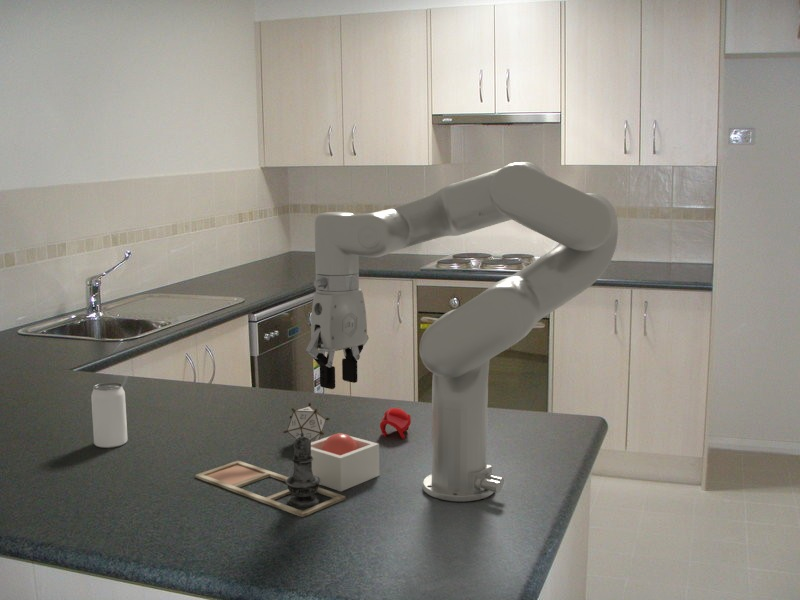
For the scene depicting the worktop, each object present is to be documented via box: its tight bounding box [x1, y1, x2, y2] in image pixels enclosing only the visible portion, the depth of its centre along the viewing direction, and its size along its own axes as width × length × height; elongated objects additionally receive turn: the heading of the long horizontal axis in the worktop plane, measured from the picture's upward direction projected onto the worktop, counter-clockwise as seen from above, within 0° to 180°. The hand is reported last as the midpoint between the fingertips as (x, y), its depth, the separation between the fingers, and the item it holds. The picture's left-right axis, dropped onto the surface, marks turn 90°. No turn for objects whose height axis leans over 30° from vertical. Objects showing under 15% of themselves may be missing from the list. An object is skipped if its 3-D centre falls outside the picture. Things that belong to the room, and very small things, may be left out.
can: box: [90, 382, 128, 449], centre depth 179 cm, size 6×6×12 cm
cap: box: [379, 407, 412, 440], centre depth 184 cm, size 8×6×6 cm
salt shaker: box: [285, 432, 321, 508], centre depth 149 cm, size 6×6×12 cm
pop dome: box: [322, 432, 358, 456], centre depth 160 cm, size 6×6×6 cm
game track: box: [194, 460, 347, 518], centre depth 156 cm, size 28×10×1 cm, turn 50°
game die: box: [282, 402, 331, 442], centre depth 179 cm, size 9×8×10 cm
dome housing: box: [311, 435, 380, 492], centre depth 160 cm, size 10×10×6 cm
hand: (338, 383), depth 158 cm, fingers open, 4 cm apart
